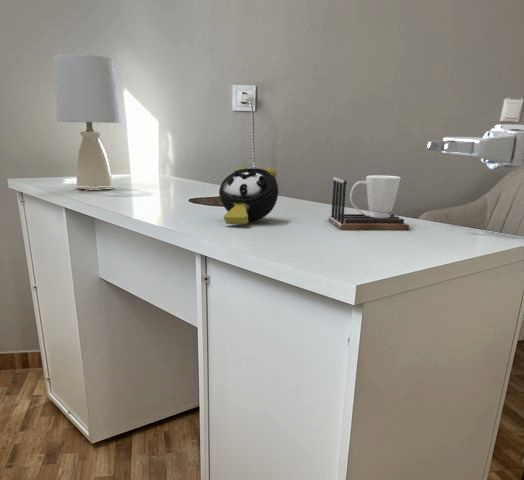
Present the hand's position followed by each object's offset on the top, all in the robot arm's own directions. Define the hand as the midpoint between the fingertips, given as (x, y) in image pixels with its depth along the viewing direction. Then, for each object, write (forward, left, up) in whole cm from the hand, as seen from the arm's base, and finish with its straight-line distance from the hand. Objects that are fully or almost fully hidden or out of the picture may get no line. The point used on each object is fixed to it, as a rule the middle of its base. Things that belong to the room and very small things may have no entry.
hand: (437, 146), depth 113 cm
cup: (+12, 0, -14) cm, 19 cm away
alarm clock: (+38, -4, -16) cm, 42 cm away
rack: (+13, 0, -16) cm, 21 cm away
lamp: (+82, -69, -16) cm, 109 cm away
